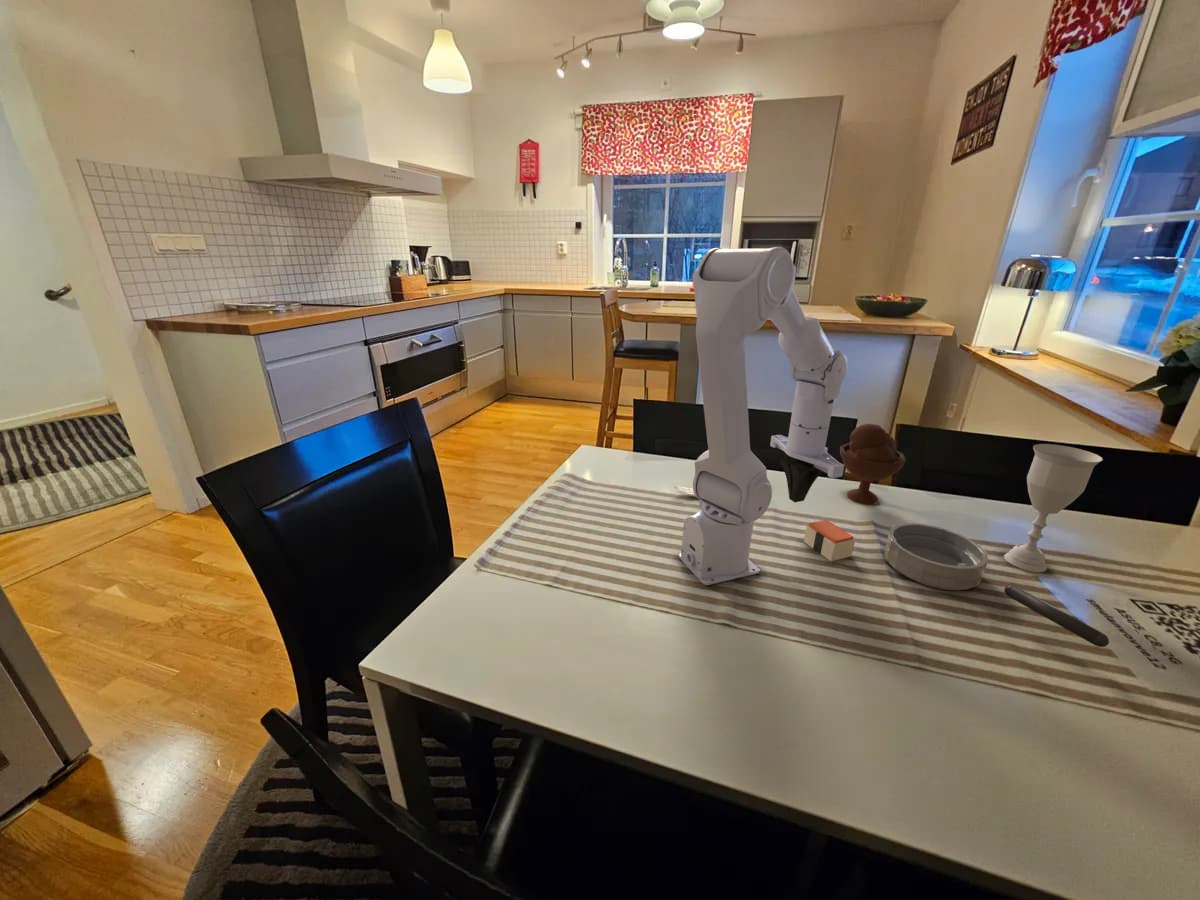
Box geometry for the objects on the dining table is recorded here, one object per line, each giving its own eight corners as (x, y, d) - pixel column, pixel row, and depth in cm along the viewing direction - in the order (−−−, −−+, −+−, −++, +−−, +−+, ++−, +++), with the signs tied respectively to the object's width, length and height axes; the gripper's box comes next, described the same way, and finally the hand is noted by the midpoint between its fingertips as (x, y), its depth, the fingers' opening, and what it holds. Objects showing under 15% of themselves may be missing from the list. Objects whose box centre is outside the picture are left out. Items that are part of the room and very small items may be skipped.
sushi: (830, 561, 74) (835, 541, 73) (803, 541, 80) (806, 522, 78) (851, 556, 76) (856, 537, 74) (823, 537, 81) (826, 518, 80)
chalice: (999, 567, 73) (1039, 455, 67) (991, 545, 79) (1027, 440, 73) (1062, 581, 70) (1111, 466, 64) (1049, 557, 76) (1092, 449, 69)
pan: (938, 600, 66) (946, 575, 65) (865, 553, 77) (870, 530, 75) (1000, 582, 70) (1008, 558, 69) (921, 539, 81) (927, 517, 79)
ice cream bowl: (890, 517, 88) (909, 438, 82) (824, 499, 94) (838, 425, 88) (899, 496, 95) (917, 422, 90) (837, 481, 102) (851, 411, 96)
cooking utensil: (770, 488, 98) (771, 480, 97) (676, 498, 93) (676, 489, 93) (761, 482, 101) (762, 473, 100) (670, 491, 96) (670, 482, 96)
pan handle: (1100, 651, 54) (1106, 640, 54) (999, 594, 64) (1003, 584, 63) (1109, 648, 55) (1114, 636, 54) (1008, 591, 64) (1011, 581, 64)
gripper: (866, 435, 73) (848, 515, 78) (798, 408, 86) (787, 479, 91) (828, 440, 71) (813, 523, 76) (764, 412, 83) (755, 484, 88)
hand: (796, 499), depth 83 cm, fingers closed
